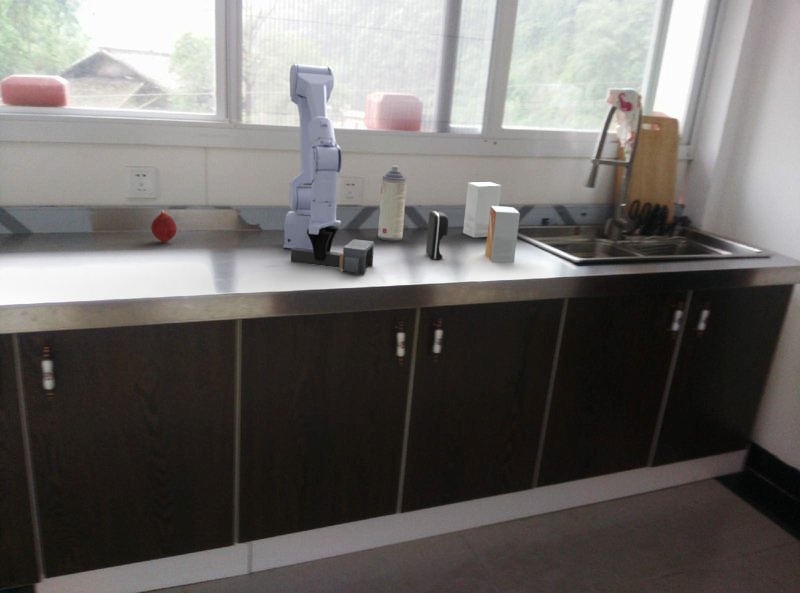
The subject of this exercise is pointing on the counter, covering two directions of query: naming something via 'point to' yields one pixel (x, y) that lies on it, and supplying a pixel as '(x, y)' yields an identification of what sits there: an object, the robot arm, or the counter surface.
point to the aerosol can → (392, 205)
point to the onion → (164, 227)
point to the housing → (357, 256)
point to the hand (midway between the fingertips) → (321, 258)
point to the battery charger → (436, 233)
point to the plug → (308, 258)
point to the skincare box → (480, 207)
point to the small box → (502, 234)
